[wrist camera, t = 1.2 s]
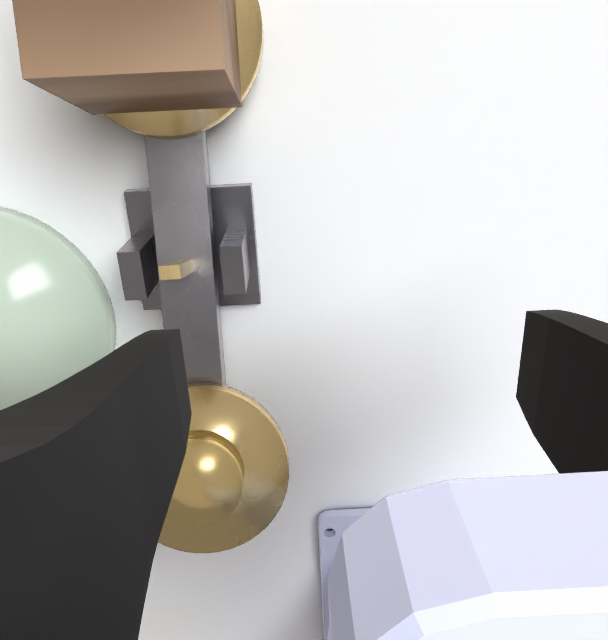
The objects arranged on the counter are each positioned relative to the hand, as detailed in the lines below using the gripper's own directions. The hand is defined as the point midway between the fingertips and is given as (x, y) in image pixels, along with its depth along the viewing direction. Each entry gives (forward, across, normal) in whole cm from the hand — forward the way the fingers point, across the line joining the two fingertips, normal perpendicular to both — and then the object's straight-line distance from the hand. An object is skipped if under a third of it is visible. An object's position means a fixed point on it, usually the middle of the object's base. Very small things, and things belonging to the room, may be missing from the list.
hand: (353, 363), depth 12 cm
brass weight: (+5, +5, +7) cm, 10 cm away
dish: (+10, +13, +3) cm, 16 cm away
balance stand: (+10, +5, 0) cm, 11 cm away
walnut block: (+8, +5, -7) cm, 12 cm away
